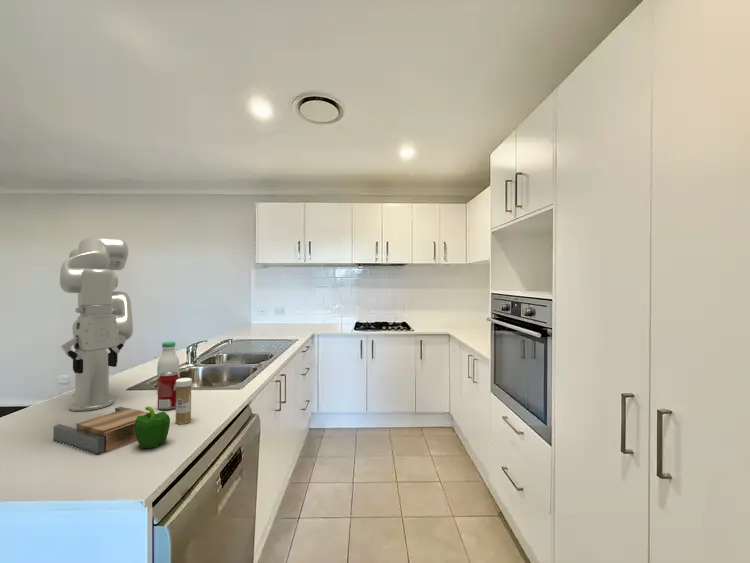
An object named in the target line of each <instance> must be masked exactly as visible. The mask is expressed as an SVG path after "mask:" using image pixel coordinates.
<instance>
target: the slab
mask: <svg viewBox="0 0 750 563" xmlns="http://www.w3.org/2000/svg"><path fill="white" fill-rule="evenodd" d="M126 408H127V409H123V410H120V411H117V412H115V411H113V412H111V413H107V414H104V415H101V416H97V417H94V418H91V419H88V420H87V419H86V420H84V421H81V422H77V423H76V427H77V429H78V430H82V431H86V432H89V433H93V434H96V435H100V436H103V437H104V432H106V431H109V430H112V429H115V428H118V427H121V426H124V425H127V424H130V423H133V422H135V421H136V419H137V417H138V416H142V415H145V414H147V413H148V411H143V410H140V409H139V410H138V409H134V408H132V407H131V408H130V407H126Z"/></svg>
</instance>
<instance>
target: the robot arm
mask: <svg viewBox="0 0 750 563" xmlns="http://www.w3.org/2000/svg"><path fill="white" fill-rule="evenodd" d="M128 257H129V246H128V244H127V242H126V241H125V240H123V239H122V238H116V237H104V236H87V237H85V238H83V239H82V240H81V241H80V242H79V243H78V248H75V249H72V250H71V251H70V252H69V255H68V258H67V259H66V260H64V262H63V263H62V265H61V267H60V272H59V286H60V288H61V289H62V291H63V292H65V293H68V294H77V307H76V308H75V312H76V313H78V314H79V315H78V316H77V319H75V321H74V322H73V324H72V335H73V338H72V339H70V340H68V341H66V342H65V343H64V344H62V345H61V347H60V348H61V349H62V350H63V351H64V353H65V355H66V356H67V357H70V359H71V360H72V371H73V373H74V374H75V375H74V377H75V378H74V379H75V380H74V381H75V382H74V384H75V385H74V393H73V394H72V397H73V398H74V402H72V403H71V404H69V405H68V409H69V410H70V411H73V412H87V411H95V410H98V409H102V408H107V407H109V406H111V405H113V404H114V402H115V398H113V397H111V396H110V394H109V393H110V389H109V388H110V367H112V368H113V367H114V368H115V367H117V366H118V364H117V363H118V358H119V357H118V354H119V353H120V351H121V350H122V349H123V348H124V346H125V345H124V344H125V343H126V342H127V341H128V340H130V339H131V337H132V336H133V332H134V322H133V314H132V312H133V311H132V302H131V298H130V296H129V294H128V293H127V292H125V291H117V290H116V289H117V288H118V285H119V276H118V275H117V274H116V272H115V271H121V270H123V269H124V268H125V267H126V264H127V261H128ZM115 290H116V291H115ZM72 347H73V348H74V351H73V350H72ZM108 351H109V352H108Z"/></svg>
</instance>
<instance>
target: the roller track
mask: <svg viewBox="0 0 750 563" xmlns="http://www.w3.org/2000/svg"><path fill="white" fill-rule="evenodd" d="M114 408H115V409H114V412H117V411H120V410H123V409H127V408H128V407H123V406H118V407H114ZM134 424H135V422H133V423H130V424H127V425H124V426H121V427H118V428H115V429H112V430H109V431H106V432H104V437H103V436H100V435H96V434H93V433H89V432H86V431H82V430H78V429H77V426H75V427H71V426H67V425H64V424H57V425H54V426H53V429H52V430H53V431H52V433H53V435H52V438H53V440H54V441H53V440H52V441H53V442H55V441H57V443H59V442H61V443H60V444H62V443H64V444H63V445H65V444H67V445H66V446H68V445H70V446H69V447H71V446H73V447H72V448H74V447H76V448H75V449H77V448H79V449H78V450H81V449H82V450H81V451H84V450H85V451H84V452H87V451H88V452H87V453H90V452H91V453H90V454H93V453H94V455H96V454H97V455H96V456H99V455H102V454H104V453H107V452H110V450H111V451H113V450H115V448H116V449H118V448H121V447H123V446H122V445H124V446H126V445H128V443H129V444H131V443H134V442H136V441H137V438H136V435H135V430H134ZM133 441H134V442H133ZM130 442H131V443H130ZM125 444H126V445H125ZM120 446H121V447H120ZM117 447H118V448H117ZM112 449H113V450H112ZM101 453H102V454H101Z"/></svg>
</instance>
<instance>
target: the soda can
mask: <svg viewBox="0 0 750 563" xmlns="http://www.w3.org/2000/svg"><path fill="white" fill-rule="evenodd" d="M177 379H181V377H180V375H179V376H178V372H164V373H161V374H160V377H159V379H158V393H157V409H159V410H161V411H170V410H174V409H176V380H177Z"/></svg>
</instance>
